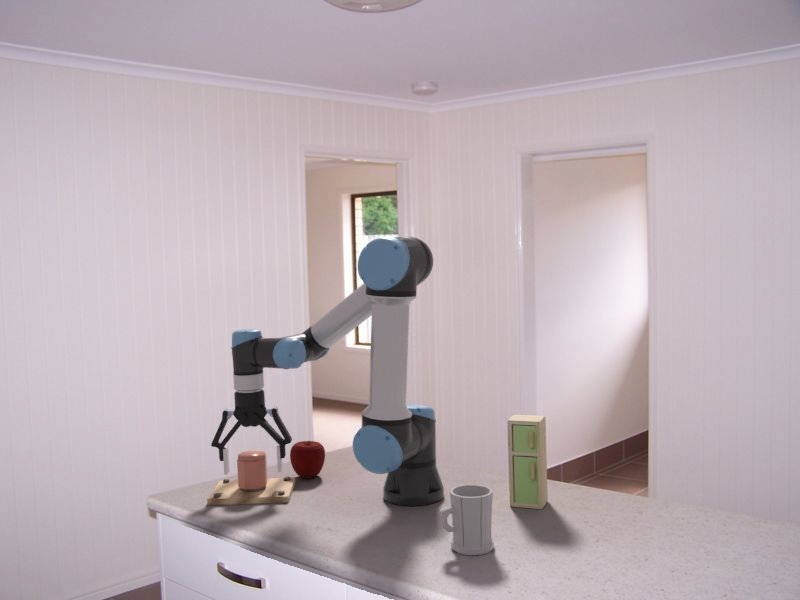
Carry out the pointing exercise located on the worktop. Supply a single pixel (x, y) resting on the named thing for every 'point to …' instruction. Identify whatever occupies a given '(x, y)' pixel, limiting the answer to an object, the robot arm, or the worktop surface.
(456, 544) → the cup
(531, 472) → the toy refrigerator
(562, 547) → the worktop surface
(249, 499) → the stud plate
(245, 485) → the cap
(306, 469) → the apple
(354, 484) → the worktop surface
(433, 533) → the worktop surface
